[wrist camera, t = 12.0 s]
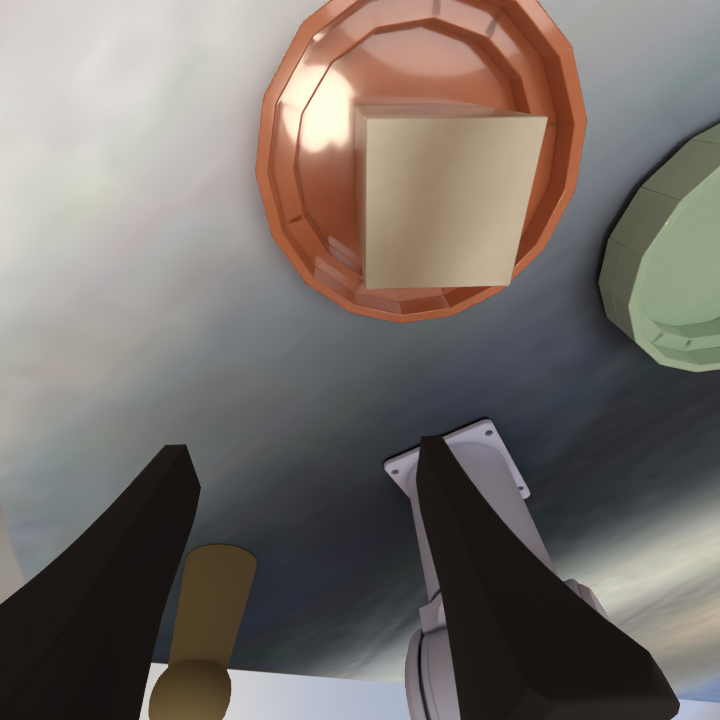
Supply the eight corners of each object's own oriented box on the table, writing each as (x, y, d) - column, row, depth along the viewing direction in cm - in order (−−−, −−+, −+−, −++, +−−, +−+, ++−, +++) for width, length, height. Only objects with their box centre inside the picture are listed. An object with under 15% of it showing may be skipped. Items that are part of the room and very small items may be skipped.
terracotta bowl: (575, 215, 19) (611, 235, 16) (358, 330, 22) (362, 361, 19) (493, -113, 13) (531, -159, 10) (206, 109, 16) (183, 115, 13)
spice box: (470, 103, 16) (549, 116, 10) (454, 221, 18) (510, 286, 13) (354, 103, 16) (366, 118, 10) (355, 223, 18) (365, 289, 12)
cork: (210, 535, 32) (163, 712, 23) (271, 560, 35) (249, 727, 26) (172, 566, 35) (116, 737, 26) (232, 587, 37) (199, 748, 28)
